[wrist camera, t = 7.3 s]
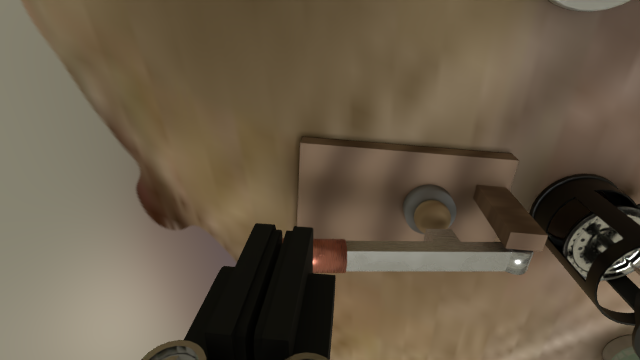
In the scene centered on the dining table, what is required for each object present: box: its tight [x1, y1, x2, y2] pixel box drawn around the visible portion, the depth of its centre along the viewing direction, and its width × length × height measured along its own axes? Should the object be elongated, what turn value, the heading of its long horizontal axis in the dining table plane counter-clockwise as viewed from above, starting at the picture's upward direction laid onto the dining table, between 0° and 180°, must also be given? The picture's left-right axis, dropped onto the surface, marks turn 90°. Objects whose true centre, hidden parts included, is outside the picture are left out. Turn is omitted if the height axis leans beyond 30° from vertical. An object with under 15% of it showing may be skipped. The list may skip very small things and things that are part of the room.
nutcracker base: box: [297, 137, 548, 252], centre depth 37 cm, size 22×12×11 cm, turn 86°
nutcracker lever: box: [282, 229, 533, 275], centre depth 32 cm, size 22×3×4 cm, turn 87°
